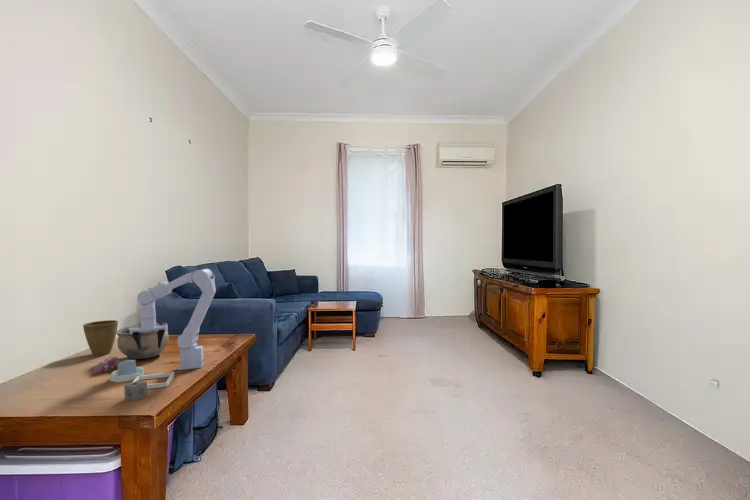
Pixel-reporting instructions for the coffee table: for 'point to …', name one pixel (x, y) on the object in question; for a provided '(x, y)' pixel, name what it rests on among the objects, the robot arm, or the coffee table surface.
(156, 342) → the ceramic bowl
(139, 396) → the dice cube
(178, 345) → the robot arm
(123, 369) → the slate block
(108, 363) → the video game controller
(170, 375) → the white flat frame piece
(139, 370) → the ceramic dish
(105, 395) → the coffee table surface
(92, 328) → the plant pot
